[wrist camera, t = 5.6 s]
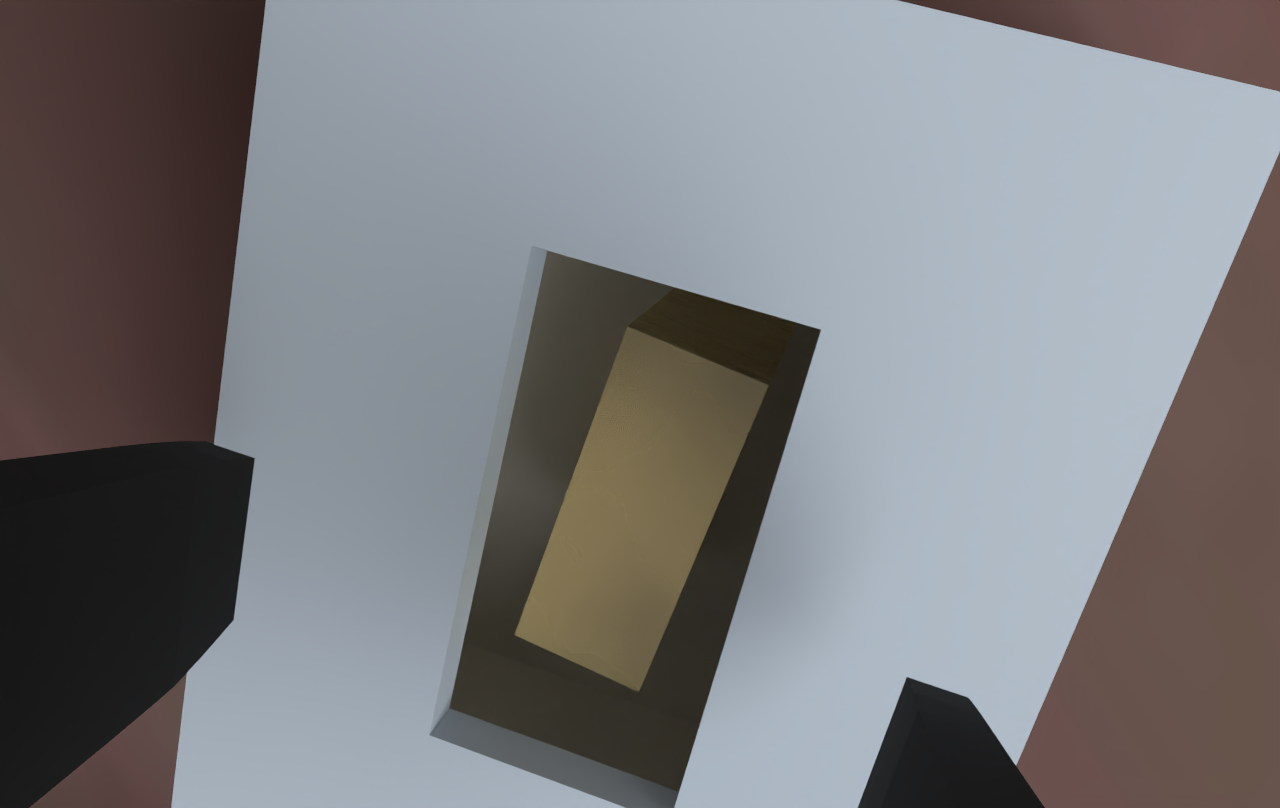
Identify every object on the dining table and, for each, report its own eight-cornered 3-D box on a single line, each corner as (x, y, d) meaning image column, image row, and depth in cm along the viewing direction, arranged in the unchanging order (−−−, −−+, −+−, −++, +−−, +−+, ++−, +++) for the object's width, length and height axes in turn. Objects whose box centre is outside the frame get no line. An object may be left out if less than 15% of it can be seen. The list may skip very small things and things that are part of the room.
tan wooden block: (698, 554, 20) (639, 692, 15) (602, 512, 20) (514, 635, 15) (800, 314, 18) (768, 385, 13) (695, 271, 18) (627, 327, 14)
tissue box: (873, 804, 21) (864, 1118, 14) (377, 628, 23) (168, 838, 16) (1141, 102, 17) (1302, 97, 10) (502, -55, 18) (283, -146, 12)
